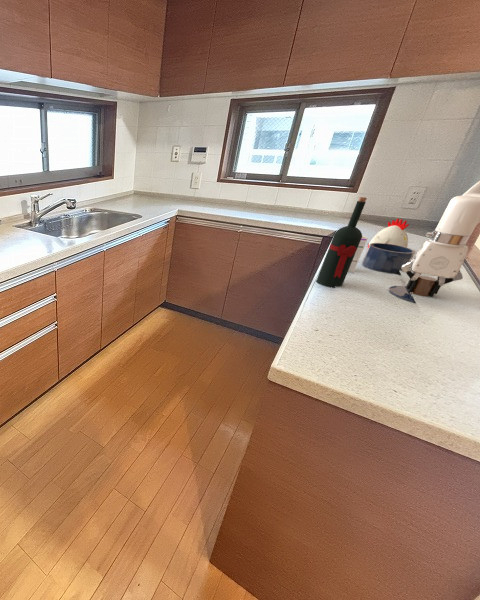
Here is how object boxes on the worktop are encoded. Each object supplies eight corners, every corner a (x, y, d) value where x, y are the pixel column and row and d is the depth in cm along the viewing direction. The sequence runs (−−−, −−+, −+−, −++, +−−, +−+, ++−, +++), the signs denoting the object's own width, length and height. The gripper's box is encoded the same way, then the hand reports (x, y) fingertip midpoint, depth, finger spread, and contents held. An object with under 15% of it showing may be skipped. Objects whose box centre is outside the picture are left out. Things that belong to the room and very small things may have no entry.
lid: (442, 296, 109) (453, 276, 105) (454, 313, 98) (467, 291, 95) (385, 285, 116) (394, 266, 113) (390, 299, 105) (400, 279, 102)
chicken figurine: (389, 255, 148) (404, 222, 141) (360, 246, 160) (373, 216, 153) (412, 254, 150) (428, 222, 144) (382, 245, 162) (396, 215, 156)
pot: (400, 265, 136) (410, 245, 133) (408, 278, 122) (419, 257, 119) (360, 258, 143) (368, 239, 140) (363, 270, 129) (372, 250, 126)
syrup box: (353, 273, 126) (369, 237, 119) (337, 272, 127) (351, 236, 120) (345, 268, 131) (360, 233, 125) (329, 267, 132) (343, 232, 125)
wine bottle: (318, 287, 113) (352, 199, 100) (314, 277, 121) (345, 194, 108) (346, 292, 110) (385, 201, 97) (339, 281, 118) (374, 197, 105)
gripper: (413, 236, 100) (387, 290, 108) (494, 246, 91) (458, 304, 99) (409, 231, 105) (384, 283, 113) (485, 241, 96) (452, 296, 105)
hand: (419, 292), depth 106 cm, fingers closed on lid, 4 cm apart
